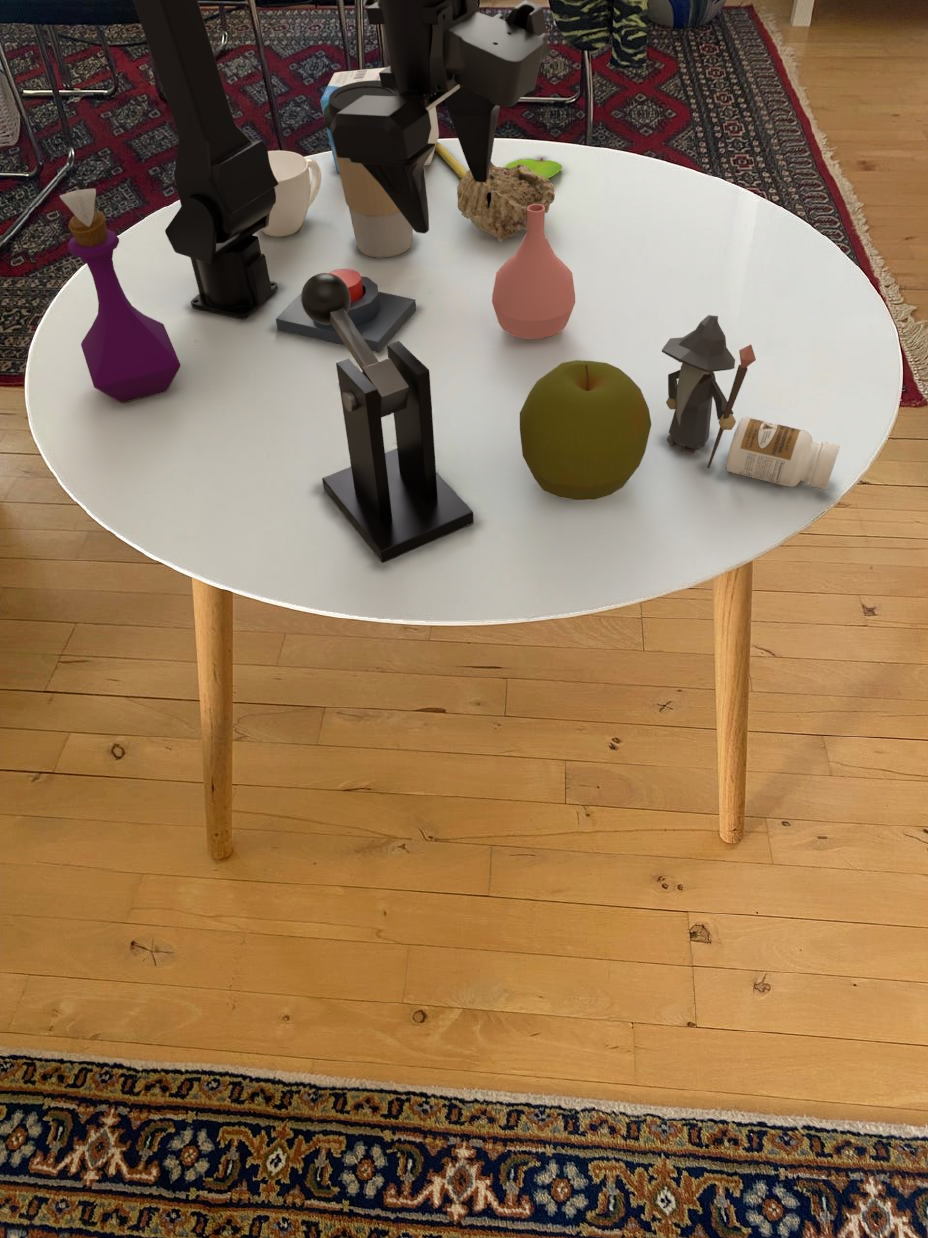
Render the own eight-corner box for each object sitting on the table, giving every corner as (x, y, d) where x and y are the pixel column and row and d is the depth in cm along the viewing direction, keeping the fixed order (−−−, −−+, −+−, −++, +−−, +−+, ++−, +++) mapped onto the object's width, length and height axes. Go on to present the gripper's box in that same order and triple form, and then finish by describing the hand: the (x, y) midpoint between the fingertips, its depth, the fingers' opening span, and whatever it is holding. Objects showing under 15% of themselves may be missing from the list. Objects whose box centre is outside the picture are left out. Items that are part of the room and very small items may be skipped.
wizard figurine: (637, 442, 82) (653, 311, 73) (676, 411, 84) (697, 281, 75) (722, 485, 78) (750, 353, 69) (761, 452, 80) (793, 320, 71)
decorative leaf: (580, 175, 115) (580, 166, 114) (521, 198, 111) (521, 189, 111) (537, 156, 119) (537, 148, 118) (479, 177, 116) (479, 169, 115)
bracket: (323, 489, 79) (299, 350, 70) (410, 454, 82) (398, 316, 72) (382, 563, 73) (364, 422, 64) (474, 523, 76) (469, 382, 66)
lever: (293, 306, 74) (292, 270, 71) (336, 292, 75) (337, 256, 72) (370, 427, 70) (372, 394, 67) (414, 410, 71) (419, 377, 68)
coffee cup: (444, 236, 106) (437, 87, 95) (394, 275, 101) (380, 122, 90) (374, 216, 110) (359, 70, 99) (321, 252, 105) (300, 103, 94)
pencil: (427, 142, 121) (433, 146, 122) (469, 188, 113) (476, 193, 113) (432, 135, 121) (438, 139, 122) (475, 181, 112) (481, 185, 113)
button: (318, 301, 93) (315, 283, 92) (336, 282, 95) (334, 265, 94) (352, 308, 92) (350, 291, 91) (369, 289, 94) (367, 272, 93)
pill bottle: (745, 404, 77) (846, 427, 75) (735, 447, 81) (831, 471, 79) (730, 438, 75) (834, 463, 73) (721, 481, 78) (820, 506, 76)
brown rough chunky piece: (483, 274, 106) (569, 232, 103) (454, 222, 101) (544, 176, 98) (471, 215, 113) (552, 174, 110) (444, 163, 107) (528, 119, 104)
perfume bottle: (91, 374, 91) (20, 178, 77) (172, 354, 93) (116, 159, 79) (105, 418, 86) (32, 219, 73) (189, 396, 88) (134, 198, 75)
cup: (232, 229, 109) (219, 167, 104) (302, 197, 113) (293, 137, 108) (276, 252, 105) (264, 189, 100) (346, 218, 110) (339, 156, 105)
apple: (551, 538, 74) (557, 419, 66) (497, 464, 80) (496, 346, 72) (665, 500, 77) (685, 381, 69) (605, 431, 83) (616, 314, 75)
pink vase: (537, 364, 90) (540, 238, 81) (475, 334, 93) (472, 210, 84) (590, 328, 93) (599, 204, 84) (528, 301, 97) (531, 179, 88)
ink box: (335, 174, 117) (431, 166, 115) (318, 99, 111) (419, 89, 109) (349, 143, 123) (441, 135, 121) (333, 70, 117) (430, 60, 115)
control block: (277, 329, 95) (272, 301, 93) (318, 289, 100) (314, 261, 97) (379, 353, 92) (376, 324, 90) (416, 310, 97) (414, 281, 94)
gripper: (445, 25, 58) (482, 273, 69) (582, -65, 69) (595, 163, 80) (299, 25, 63) (355, 256, 74) (448, -59, 74) (477, 155, 85)
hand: (452, 205), depth 78 cm, fingers open, 9 cm apart
